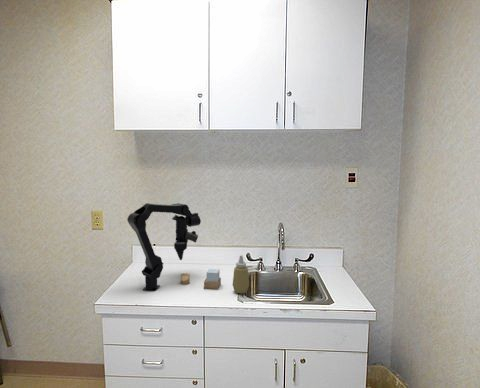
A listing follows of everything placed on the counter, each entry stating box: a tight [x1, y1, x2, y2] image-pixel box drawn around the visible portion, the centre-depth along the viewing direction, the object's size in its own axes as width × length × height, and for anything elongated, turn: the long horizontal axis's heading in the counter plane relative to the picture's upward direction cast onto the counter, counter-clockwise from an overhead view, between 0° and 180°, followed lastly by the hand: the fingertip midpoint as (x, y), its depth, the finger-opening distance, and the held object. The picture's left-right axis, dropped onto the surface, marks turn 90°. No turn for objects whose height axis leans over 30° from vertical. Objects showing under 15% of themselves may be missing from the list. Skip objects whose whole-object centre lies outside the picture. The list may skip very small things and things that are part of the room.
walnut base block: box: [203, 277, 222, 291], centre depth 182 cm, size 7×7×4 cm
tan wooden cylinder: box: [180, 272, 191, 286], centre depth 186 cm, size 5×5×4 cm
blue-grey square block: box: [205, 268, 221, 282], centre depth 181 cm, size 6×6×4 cm
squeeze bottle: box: [232, 255, 250, 295], centre depth 175 cm, size 8×8×18 cm
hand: (181, 257), depth 189 cm, fingers open, 9 cm apart
